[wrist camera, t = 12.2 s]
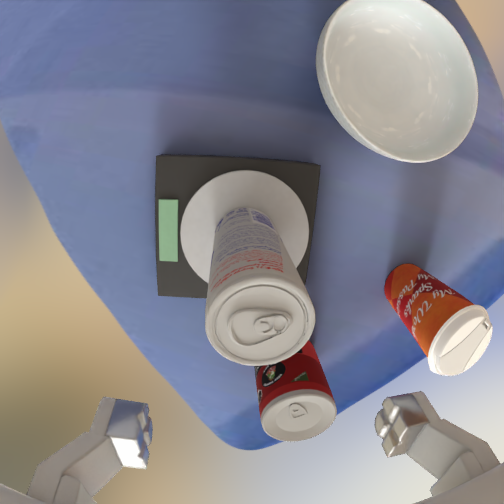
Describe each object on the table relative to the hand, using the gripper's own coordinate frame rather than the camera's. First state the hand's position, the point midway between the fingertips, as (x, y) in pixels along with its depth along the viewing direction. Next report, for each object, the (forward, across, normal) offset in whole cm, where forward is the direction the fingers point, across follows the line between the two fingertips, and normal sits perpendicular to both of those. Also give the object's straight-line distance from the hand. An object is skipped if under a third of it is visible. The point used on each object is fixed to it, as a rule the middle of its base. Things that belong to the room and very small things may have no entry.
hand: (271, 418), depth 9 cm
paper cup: (+24, -20, +7) cm, 32 cm away
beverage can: (+21, 0, +1) cm, 21 cm away
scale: (+24, +1, +1) cm, 24 cm away
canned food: (+24, -6, +17) cm, 30 cm away
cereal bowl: (+25, -13, -16) cm, 32 cm away
